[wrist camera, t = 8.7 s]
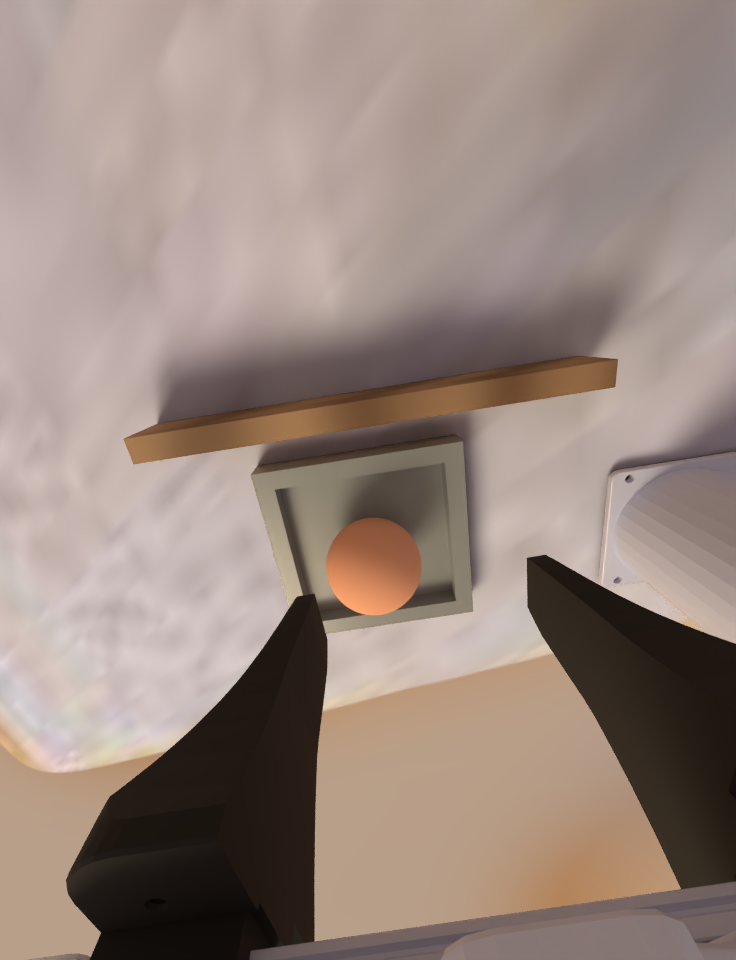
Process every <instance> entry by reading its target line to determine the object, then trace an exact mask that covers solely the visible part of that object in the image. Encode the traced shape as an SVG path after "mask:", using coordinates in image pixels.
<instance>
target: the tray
mask: <svg viewBox="0 0 736 960" xmlns="http://www.w3.org/2000/svg"><path fill="white" fill-rule="evenodd" d="M251 478H252V481H253V484H254V488H255V491H256V495H257V498H258V502H259V505H260V509H261V512H262V516H263V519H264V522H265V526H266V529H267V533H268V536H269V540H270V543H271V547H272V550H273V554H274V557H275V560H276V564H277V567H278V571H279V574H280V578H281V581H282V585H283V588H284V592H285V595H286V598H287V602H288V605H289V608H290V606H291V605H292V603H293V601H294V600H295V598H296V597H297V596H303V595H309V594H314V593H315V597H316V600H317V604H318V607H319V611H320V615H321V618H322V622H323V625H324V629H325V633H326V634H328V633H335V632H341V631H348V630H354V629H361V628H368V627H374V626H381V625H387V624H394V623H401V622H407V621H414V620H420V619H427V618H434V617H440V616H447V615H453V614H460V613H467V612H473V601H472V584H471V567H470V550H469V533H468V516H467V499H466V482H465V465H464V448H463V441H462V440H461V439H460V438H459V437H458V436H457V435H450V436H443V437H437V438H431V439H424V440H418V441H412V442H406V443H399V444H393V445H387V446H380V447H374V448H368V449H362V450H355V451H349V452H343V453H336V454H330V455H324V456H318V457H311V458H305V459H299V460H292V461H286V462H280V463H274V464H267V465H261V466H257V467H256V469H255V470H254V471H253V473H252V474H251ZM365 518H383V519H387V520H390V521H393V522H395V523H396V524H398V525H400V526H401V527H402V528H404V529H405V530H406V531H407V532H408V533H409V534H410V535H411V537H412V538H413V539H414V541H415V543H416V545H417V547H418V550H419V552H420V557H421V566H422V567H421V577H420V580H419V584H418V586H417V589H416V590H415V592H414V594H413V595H412V597H411V598H410V599H409V600H408V601H407V602H406V603H405V604H404V605H403V606H401V607H400V608H398V609H397V610H395V611H393V612H390V613H387V614H383V615H365V614H361V613H358V612H355V611H353V610H351V609H350V608H348V607H347V606H345V605H344V604H343V603H342V602H341V601H340V600H339V599H338V598H337V597H336V595H335V594H334V592H333V591H332V589H331V586H330V584H329V581H328V578H327V572H326V561H327V555H328V551H329V548H330V546H331V544H332V542H333V540H334V539H335V537H336V536H337V535H338V534H339V533H340V531H341V530H343V529H344V528H345V527H346V526H348V525H349V524H351V523H353V522H355V521H358V520H361V519H365Z"/></svg>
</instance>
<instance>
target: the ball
mask: <svg viewBox="0 0 736 960" xmlns="http://www.w3.org/2000/svg"><path fill="white" fill-rule="evenodd" d="M421 567H422V566H421V557H420V552H419V550H418V547H417V545H416V543H415V541H414V539H413V538H412V537H411V535H410V534H409V533H408V532H407V531H406V530H405V529H404V528H402V527H401V526H400V525H398V524H396V523H395V522H393V521H390V520H387V519H383V518H365V519H361V520H358V521H355V522H353V523H351V524H349V525H348V526H346V527H345V528H344V529H343V530H341V531H340V533H339V534H338V535H337V536H336V537H335V539H334V540H333V542H332V544H331V546H330V548H329V551H328V555H327V561H326V572H327V578H328V581H329V584H330V586H331V589H332V591H333V592H334V594H335V595H336V597H337V598H338V599H339V600H340V601H341V602H342V603H343V604H344V605H345V606H347V607H348V608H350V609H351V610H353V611H355V612H358V613H361V614H365V615H383V614H387V613H390V612H393V611H395V610H397V609H398V608H400V607H401V606H403V605H404V604H405V603H406V602H407V601H408V600H409V599H410V598H411V597H412V595H413V594H414V592H415V590H416V589H417V586H418V584H419V580H420V577H421Z"/></svg>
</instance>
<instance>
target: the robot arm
mask: <svg viewBox="0 0 736 960" xmlns="http://www.w3.org/2000/svg"><path fill="white" fill-rule="evenodd" d="M628 475H630V476H629V478H628V479H627V480H625V478H626V477H627V476H628ZM616 577H617V578H616ZM615 578H616V579H615ZM599 582H600V584H601V585H602V586H604V587H614V586H621V585H627V584H634V583H641V582H645V583H647V584H648V585H649V586H650V587H651V588H653V589H654V590H655V591H656V592H657V593H659V594H660V595H661V596H662V597H663V598H665V599H666V600H667V601H668V602H669V603H671V604H672V605H673V606H674V607H675V608H677V609H678V610H679V611H680V612H681V613H682V614H684V615H685V616H686V617H687V618H688V619H690V620H691V621H692V622H693V623H695V624H696V625H697V626H698V627H699V628H701V629H702V630H703V631H704V632H705V633H704V632H701V631H698V630H696V629H693V628H691V627H688V626H685V625H683V624H680V623H678V622H676V621H673V620H671V619H669V618H666V617H664V616H661V615H659V614H657V613H654V612H652V611H650V610H648V609H646V608H643V607H641V606H639V605H637V604H635V603H633V602H631V601H629V600H627V599H625V598H623V597H621V596H619V595H617V594H615V593H613V592H611V591H609V590H607V589H606V588H604V587H602V586H600V585H598V584H596V583H595V582H593V581H591V580H589V579H587V578H586V577H584V576H582V575H580V574H579V573H577V572H575V571H573V570H572V569H570V568H568V567H566V566H565V565H563V564H561V563H559V562H558V561H556V560H554V559H552V558H550V557H548V556H547V555H542V556H536V557H530V558H527V594H528V609H529V611H530V613H531V615H532V617H533V619H534V621H535V623H536V625H537V627H538V629H539V631H540V633H541V635H542V636H543V638H544V639H545V641H546V642H547V644H548V645H549V647H550V649H551V650H552V652H553V653H554V655H555V656H556V657H557V659H558V661H559V662H560V664H561V665H562V667H563V668H564V669H565V671H566V673H567V674H568V676H569V677H570V679H571V680H572V682H573V683H574V684H575V686H576V687H577V689H578V691H579V692H580V694H581V695H582V696H583V698H584V699H585V701H586V703H587V705H588V706H589V708H590V709H591V711H592V713H593V714H594V716H595V718H596V719H597V722H598V723H599V725H600V727H601V729H602V731H603V732H604V734H605V736H606V738H607V740H608V742H609V744H610V745H611V747H612V749H613V751H614V753H615V755H616V757H617V759H618V761H619V763H620V765H621V766H622V768H623V770H624V772H625V774H626V776H627V778H628V780H629V782H630V784H631V786H632V787H633V790H634V792H635V794H636V796H637V798H638V800H639V802H640V804H641V806H642V808H643V810H644V812H645V814H646V816H647V818H648V820H649V822H650V824H651V826H652V828H653V830H654V832H655V834H656V836H657V838H658V840H659V842H660V845H661V847H662V849H663V851H664V853H665V855H666V858H667V860H668V862H669V864H670V866H671V868H672V870H673V872H674V875H675V876H676V879H677V881H678V883H679V885H680V887H681V889H680V890H673V891H667V892H659V893H652V894H646V895H638V896H631V897H624V898H617V899H610V900H603V901H596V902H589V903H582V904H575V905H568V906H561V907H554V908H547V909H540V910H533V911H526V912H519V913H512V914H505V915H498V916H491V917H485V918H477V919H470V920H463V921H456V922H449V923H442V924H435V925H428V926H421V927H414V928H407V929H400V930H393V931H386V932H379V933H372V934H365V935H358V936H351V937H344V938H338V939H330V940H323V941H316V942H314V857H315V801H316V771H317V752H318V740H319V732H320V724H321V717H322V716H321V715H322V709H323V701H324V693H325V684H326V676H327V636H326V633H325V629H324V625H323V622H322V618H321V615H320V611H319V607H318V604H317V600H316V597H315V593H314V594H309V595H303V596H297V597H296V598H295V600H294V601H293V603H292V605H291V606H290V608H289V609H288V611H287V613H286V614H285V616H284V617H283V619H282V621H281V622H280V624H279V625H278V627H277V628H276V630H275V631H274V633H273V634H272V636H271V637H270V639H269V640H268V642H267V643H266V645H265V646H264V647H263V649H262V650H261V652H260V653H259V654H258V656H257V657H256V658H255V660H254V661H253V662H252V664H251V665H250V666H249V668H248V669H247V670H246V672H245V673H244V674H243V675H242V676H241V678H240V679H239V680H238V681H237V683H236V684H235V685H234V686H233V687H232V688H231V689H230V691H229V692H228V693H227V694H226V695H225V696H224V697H223V698H222V699H221V700H220V702H219V703H218V704H217V705H216V706H215V707H214V708H213V709H212V710H211V711H210V712H209V713H208V714H207V715H206V716H205V717H204V718H203V719H202V720H201V721H200V722H199V723H198V724H197V725H196V726H195V727H194V728H192V729H191V730H190V731H189V732H188V733H187V734H186V735H185V736H184V737H183V738H182V739H180V740H179V741H178V742H177V743H176V744H175V745H174V746H173V747H171V748H170V749H169V750H168V751H167V752H166V753H164V754H163V755H162V756H161V757H160V758H159V759H157V760H156V761H155V762H154V763H153V764H151V765H150V766H149V767H148V768H146V769H145V770H144V771H142V772H141V773H140V774H139V775H137V776H136V777H135V778H134V779H132V780H131V781H130V782H128V783H127V784H126V785H125V786H123V787H122V788H121V789H119V790H118V791H117V792H115V793H114V794H113V795H111V796H110V798H109V799H108V801H107V802H106V804H105V806H104V808H103V809H102V811H101V813H100V815H99V817H98V819H97V820H96V822H95V824H94V826H93V828H92V830H91V832H90V834H89V835H88V837H87V840H86V841H85V843H84V845H83V847H82V849H81V851H80V853H79V855H78V856H77V858H76V861H75V862H74V864H73V866H72V868H71V870H70V872H69V875H68V877H67V879H66V882H67V890H68V894H69V896H70V898H71V899H72V901H73V902H74V904H75V905H76V906H77V907H78V908H79V909H80V910H81V911H82V912H83V914H84V915H85V916H86V917H87V918H88V919H89V920H90V921H91V922H92V923H93V924H94V925H95V927H96V928H97V929H98V930H99V931H100V932H101V935H100V937H99V939H98V942H97V944H96V946H95V949H94V951H93V954H92V956H91V957H89V956H87V955H83V954H65V955H58V956H51V957H45V958H37V959H30V960H736V451H735V452H729V453H722V454H716V455H710V456H703V457H697V458H691V459H684V460H678V461H671V462H665V463H659V464H652V465H646V466H639V467H633V468H627V469H620V470H616V471H614V472H612V473H611V474H610V476H609V478H608V486H607V496H606V507H605V517H604V528H603V538H602V548H601V559H600V569H599Z"/></svg>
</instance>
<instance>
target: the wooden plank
mask: <svg viewBox="0 0 736 960" xmlns="http://www.w3.org/2000/svg"><path fill="white" fill-rule="evenodd" d="M617 363H618V359H609V358H597V357H585V356H575V357H568V358H562V359H556V360H550V361H544V362H537V363H531V364H525V365H519V366H513V367H507V368H500V369H494V370H488V371H482V372H476V373H469V374H463V375H457V376H451V377H445V378H439V379H432V380H426V381H420V382H414V383H408V384H401V385H395V386H389V387H383V388H377V389H370V390H364V391H358V392H352V393H346V394H340V395H333V396H327V397H321V398H315V399H309V400H302V401H296V402H290V403H284V404H278V405H272V406H265V407H259V408H253V409H247V410H241V411H234V412H228V413H222V414H216V415H210V416H204V417H197V418H191V419H185V420H179V421H173V422H166V423H160V424H156V425H154V426H151V427H149V428H147V429H145V430H142V431H140V432H138V433H136V434H133V435H131V436H129V437H127V438H125V439H124V442H125V444H126V447H127V449H128V451H129V454H130V456H131V459H132V461H133V464H138V463H145V462H151V461H157V460H163V459H170V458H176V457H182V456H188V455H195V454H201V453H207V452H213V451H220V450H226V449H232V448H238V447H245V446H251V445H257V444H263V443H270V442H276V441H282V440H288V439H295V438H301V437H307V436H313V435H320V434H326V433H332V432H338V431H345V430H351V429H357V428H363V427H370V426H376V425H382V424H388V423H395V422H401V421H407V420H413V419H420V418H426V417H432V416H438V415H445V414H451V413H457V412H463V411H470V410H476V409H482V408H488V407H495V406H501V405H507V404H513V403H519V402H526V401H532V400H538V399H544V398H551V397H557V396H563V395H569V394H576V393H582V392H588V391H594V390H601V389H607V388H613V387H615V384H616V373H617Z"/></svg>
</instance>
